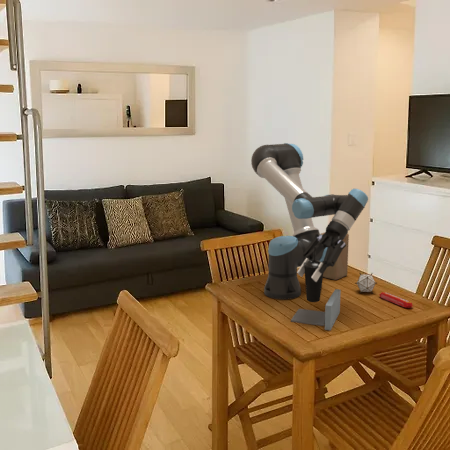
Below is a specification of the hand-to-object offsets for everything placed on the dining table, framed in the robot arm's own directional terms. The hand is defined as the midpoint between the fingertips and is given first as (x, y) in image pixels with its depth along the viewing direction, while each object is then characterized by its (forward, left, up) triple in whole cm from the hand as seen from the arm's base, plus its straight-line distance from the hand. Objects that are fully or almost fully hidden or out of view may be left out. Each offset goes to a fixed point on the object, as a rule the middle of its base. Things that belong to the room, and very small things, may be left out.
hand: (306, 277), depth 199 cm
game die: (+16, +39, -17) cm, 45 cm away
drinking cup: (+2, +3, -10) cm, 10 cm away
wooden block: (-1, +56, -17) cm, 58 cm away
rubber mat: (+1, +4, -17) cm, 17 cm away
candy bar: (+29, +30, -17) cm, 45 cm away
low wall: (+9, +4, -17) cm, 19 cm away
